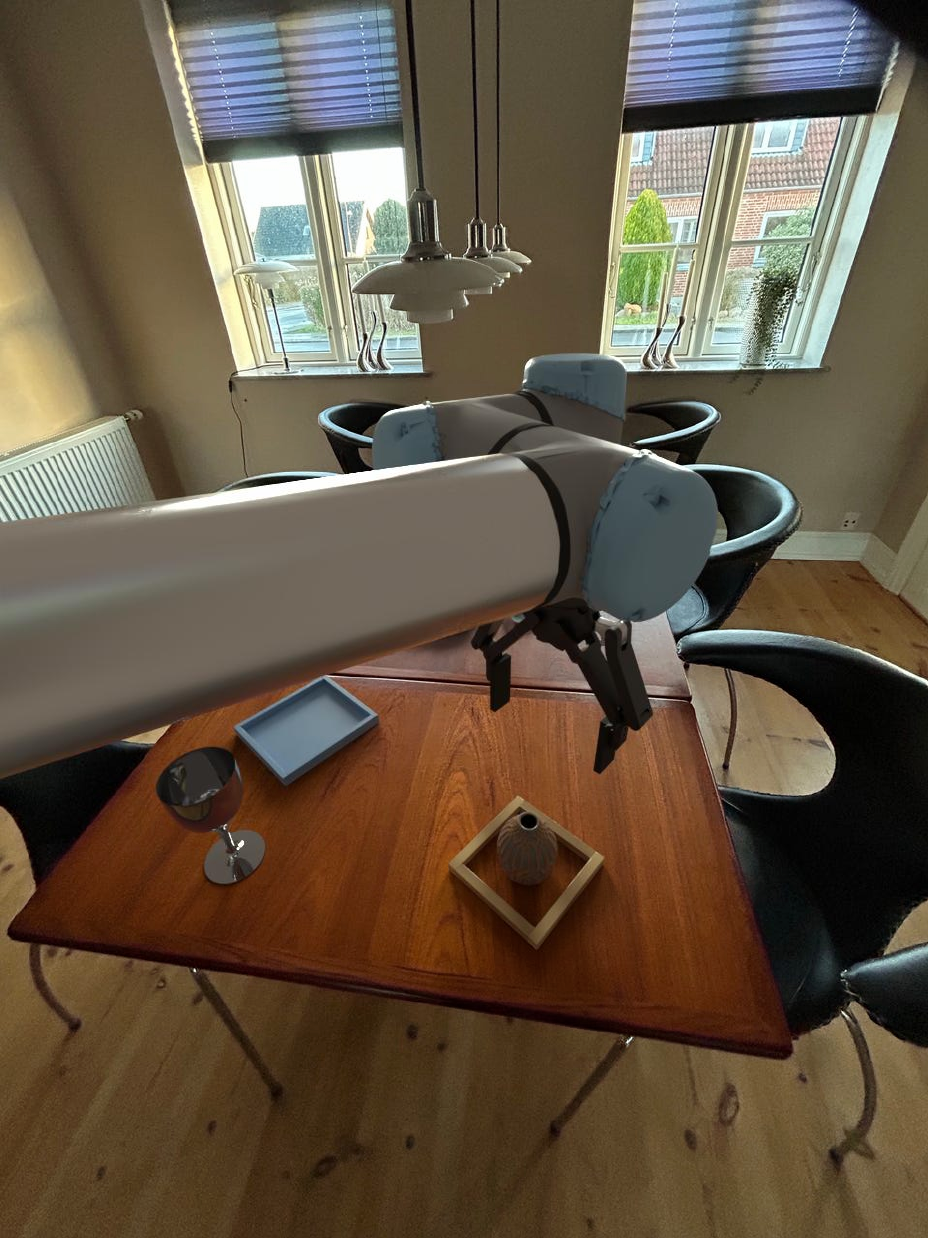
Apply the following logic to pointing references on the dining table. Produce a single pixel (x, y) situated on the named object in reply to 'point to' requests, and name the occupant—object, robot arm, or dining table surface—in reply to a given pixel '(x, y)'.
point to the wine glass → (211, 810)
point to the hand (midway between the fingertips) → (548, 733)
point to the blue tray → (305, 728)
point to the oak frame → (497, 903)
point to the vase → (527, 849)
